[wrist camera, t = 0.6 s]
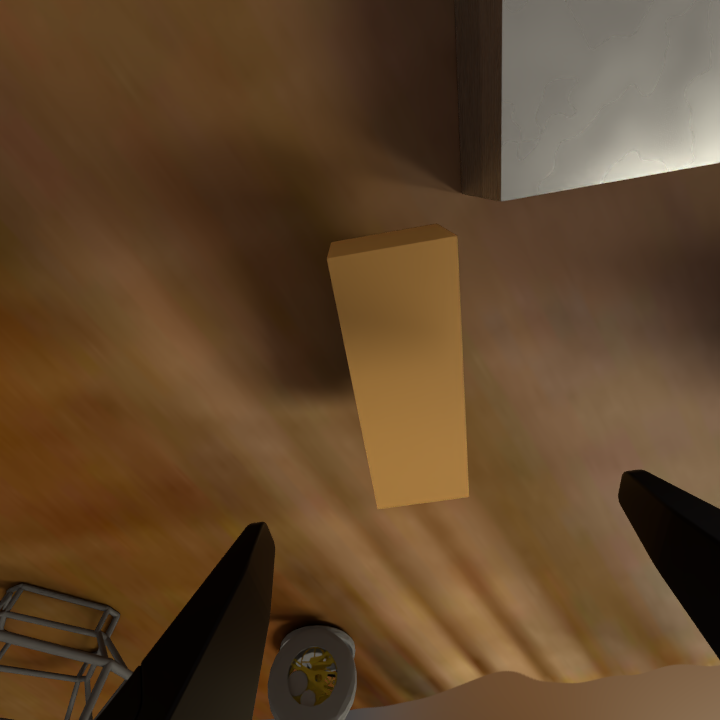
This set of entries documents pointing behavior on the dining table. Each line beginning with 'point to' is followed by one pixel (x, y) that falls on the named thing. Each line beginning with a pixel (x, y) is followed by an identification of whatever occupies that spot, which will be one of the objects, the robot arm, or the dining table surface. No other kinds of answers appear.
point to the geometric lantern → (88, 658)
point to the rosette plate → (584, 92)
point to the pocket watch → (313, 675)
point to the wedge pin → (405, 359)
